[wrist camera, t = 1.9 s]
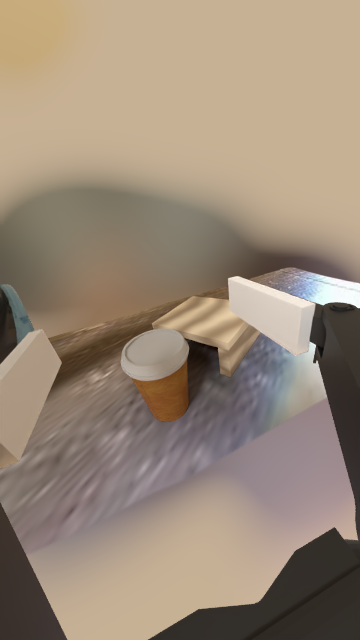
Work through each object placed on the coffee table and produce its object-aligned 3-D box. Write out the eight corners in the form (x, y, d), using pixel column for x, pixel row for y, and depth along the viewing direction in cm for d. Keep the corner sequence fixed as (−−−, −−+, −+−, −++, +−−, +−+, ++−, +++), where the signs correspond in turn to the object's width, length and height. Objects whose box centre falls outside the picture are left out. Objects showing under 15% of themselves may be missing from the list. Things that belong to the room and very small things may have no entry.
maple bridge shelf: (159, 350, 45) (151, 323, 42) (196, 320, 56) (192, 296, 52) (230, 377, 34) (228, 343, 31) (260, 332, 45) (261, 303, 41)
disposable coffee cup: (176, 374, 37) (163, 321, 32) (211, 404, 30) (202, 342, 25) (132, 403, 33) (108, 347, 28) (160, 447, 26) (135, 382, 20)
